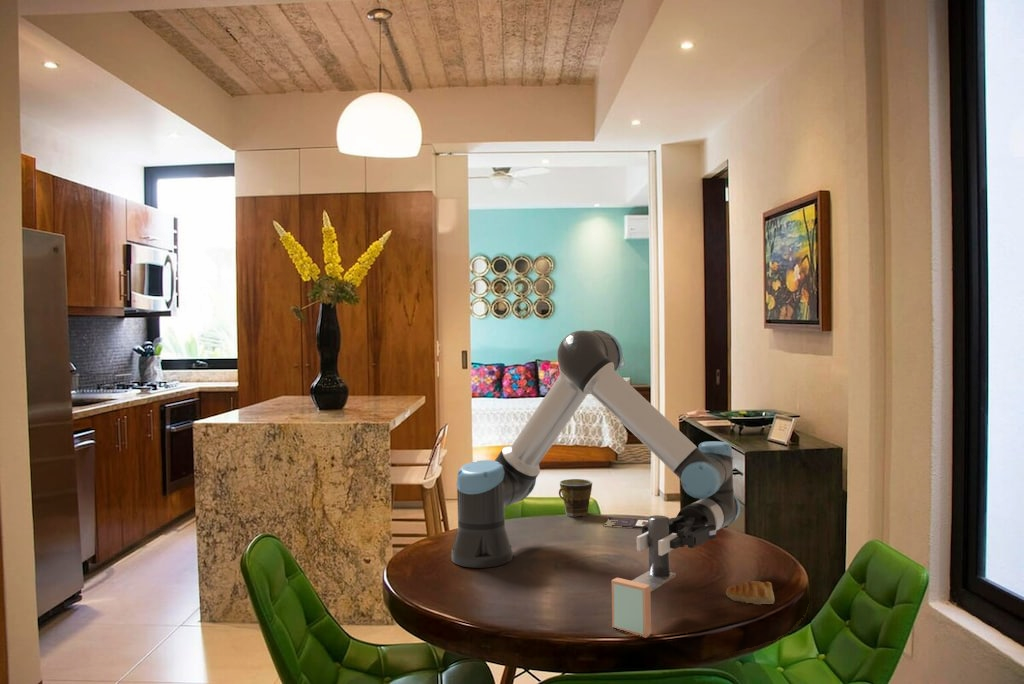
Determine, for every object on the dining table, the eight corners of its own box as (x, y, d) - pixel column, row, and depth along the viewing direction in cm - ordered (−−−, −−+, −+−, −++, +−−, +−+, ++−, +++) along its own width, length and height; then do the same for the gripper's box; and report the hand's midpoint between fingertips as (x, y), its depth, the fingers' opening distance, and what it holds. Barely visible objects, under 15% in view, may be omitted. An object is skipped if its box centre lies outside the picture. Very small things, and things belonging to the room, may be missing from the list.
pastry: (728, 604, 142) (727, 585, 142) (724, 593, 148) (723, 575, 148) (776, 606, 140) (776, 587, 140) (770, 595, 147) (770, 576, 147)
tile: (612, 628, 131) (611, 580, 131) (617, 624, 132) (616, 577, 132) (645, 638, 126) (644, 588, 126) (651, 634, 128) (650, 585, 128)
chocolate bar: (608, 517, 210) (669, 520, 204) (608, 520, 210) (669, 523, 204) (603, 524, 201) (667, 528, 196) (603, 528, 201) (667, 532, 196)
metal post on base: (628, 585, 133) (627, 525, 133) (652, 571, 141) (651, 514, 141) (651, 591, 130) (650, 529, 130) (675, 576, 138) (674, 517, 138)
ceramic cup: (574, 509, 222) (573, 477, 222) (599, 514, 215) (598, 481, 215) (547, 517, 213) (546, 484, 213) (572, 522, 206) (572, 488, 206)
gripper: (738, 543, 148) (690, 574, 129) (664, 530, 158) (611, 557, 140) (737, 508, 148) (690, 533, 129) (663, 497, 158) (610, 520, 140)
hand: (649, 546), depth 135 cm, fingers closed on metal post on base, 4 cm apart
